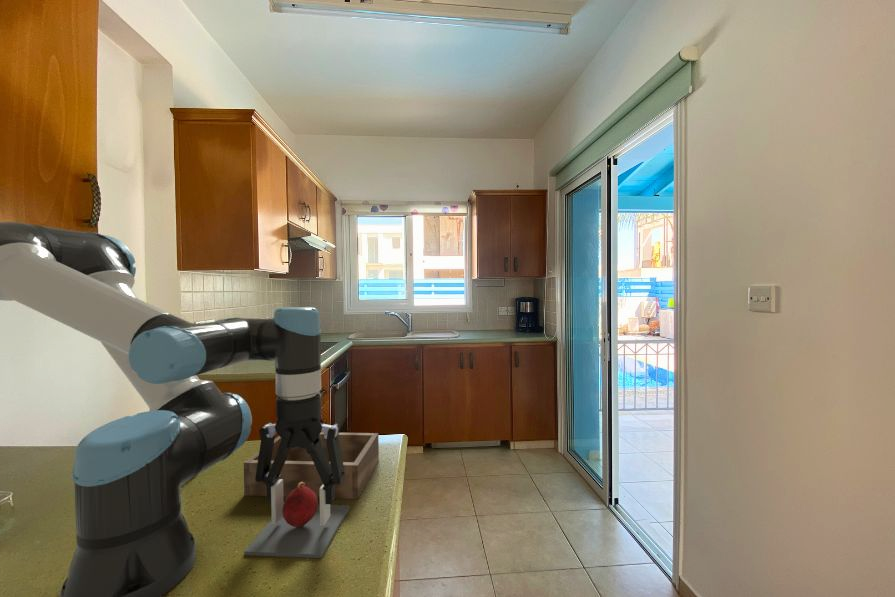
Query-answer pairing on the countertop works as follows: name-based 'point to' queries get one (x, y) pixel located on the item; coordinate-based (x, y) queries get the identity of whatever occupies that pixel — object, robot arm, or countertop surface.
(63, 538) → the countertop surface
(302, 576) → the countertop surface
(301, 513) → the onion
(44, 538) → the countertop surface
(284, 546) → the mat
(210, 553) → the countertop surface
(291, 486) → the box
